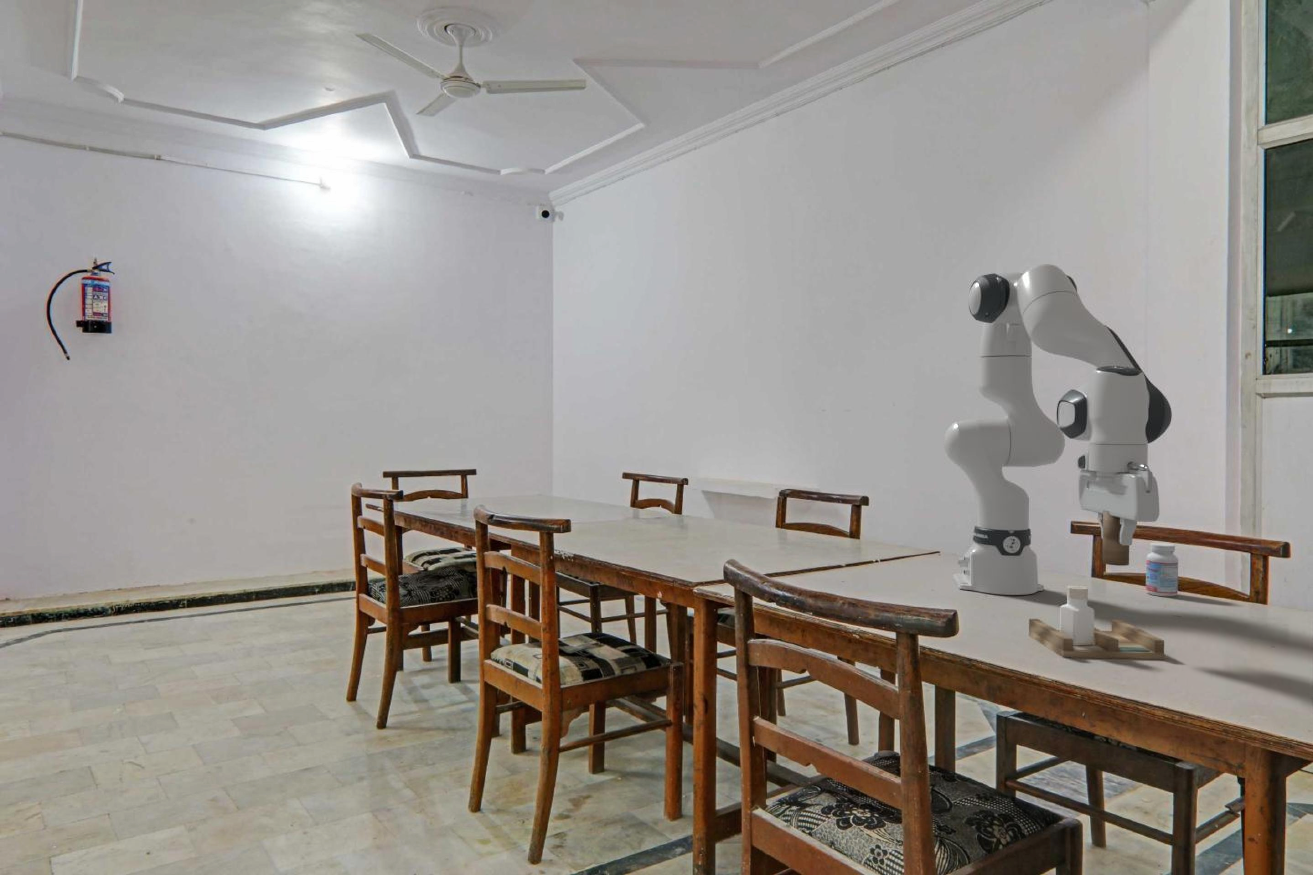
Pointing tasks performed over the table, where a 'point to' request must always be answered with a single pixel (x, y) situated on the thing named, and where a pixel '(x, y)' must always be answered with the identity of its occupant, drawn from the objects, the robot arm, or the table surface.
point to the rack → (1101, 642)
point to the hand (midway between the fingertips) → (1116, 542)
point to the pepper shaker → (1077, 617)
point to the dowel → (1113, 542)
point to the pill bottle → (1162, 570)
